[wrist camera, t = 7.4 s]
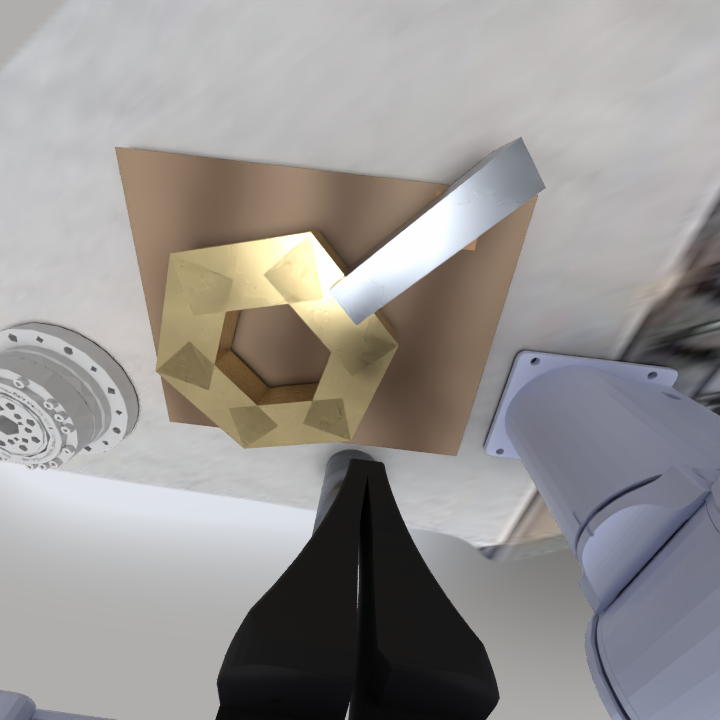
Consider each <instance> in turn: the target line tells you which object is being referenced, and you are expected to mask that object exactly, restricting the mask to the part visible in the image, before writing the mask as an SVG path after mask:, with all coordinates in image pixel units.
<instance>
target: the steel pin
mask: <svg viewBox="0 0 720 720" xmlns="http://www.w3.org/2000/svg"><path fill="white" fill-rule="evenodd" d="M352 458H355V459H362V460H369V461H375V460H374V459H373V458H372V457H371V456H369V455H368V454H366V453H364V452H361V451H357V450H345V451H341V452H338V453H336V454H335V455H333V456H332V457H331V458H330V459H329V461H328V463H327V467H326V472H325V476H324V481H323V486H322V491H321V496H320V500H319V505H318V510H317V515H316V520H315V525H314V529H313V534H314V533H315V531H316V530H317V528H318V527H319V525H320V524H321V522H322V521H323V519H324V517H325V516H326V514H327V512H328V510H329V509H330V507H331V505H332V503H333V502H334V500H335V498H336V496H337V494H338V491H339V489H340V487H341V485H342V483H343V481H344V478H345V476H346V473H347V470H348V466H349V461H350V460H351V459H352ZM313 534H312V536H313ZM358 565H359V551H358Z"/></svg>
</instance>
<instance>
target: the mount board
mask: <svg viewBox="0 0 720 720" xmlns="http://www.w3.org/2000/svg"><path fill="white" fill-rule="evenodd" d="M115 150H116V155H117V160H118V165H119V170H120V175H121V180H122V185H123V190H124V195H125V200H126V205H127V210H128V215H129V220H130V225H131V230H132V235H133V240H134V245H135V250H136V255H137V260H138V265H139V270H140V275H141V280H142V285H143V290H144V295H145V300H146V305H147V310H148V315H149V320H150V325H151V330H152V335H153V340H154V345H155V350H156V355H157V356H158V348H159V340H160V332H161V323H162V315H163V307H164V299H165V290H166V282H167V274H168V266H169V258H170V253H175V252H180V251H185V250H190V249H195V248H202V247H209V246H215V245H222V244H228V243H235V242H241V241H248V240H255V239H261V238H268V237H274V236H281V235H288V234H294V233H301V232H307V231H314V230H319V231H320V232H321V233H322V235H323V236H324V237H325V239H326V240H327V241H328V243H329V244H330V245H331V246H332V248H333V249H334V250H335V252H336V253H337V254H338V256H339V257H340V258H341V259H342V261H343V262H344V263H345V265H346V266H347V267H348V268H349V267H351V266H352V265H353V264H354V263H356V262H357V261H358V260H359V259H361V258H362V257H363V256H364V255H366V254H367V253H368V252H369V251H371V250H372V249H373V248H374V247H375V246H377V245H378V244H379V243H380V242H382V241H383V240H384V239H385V238H387V237H388V236H389V235H390V234H392V233H393V232H394V231H395V230H397V229H398V228H399V227H400V226H401V225H403V224H404V223H405V222H406V221H408V220H409V219H410V218H411V217H413V216H414V215H415V214H416V213H418V212H419V211H420V210H421V209H423V208H424V207H425V206H426V205H427V204H429V203H430V202H431V201H432V200H434V199H435V198H436V197H437V196H439V195H440V194H441V193H442V192H444V191H445V190H446V189H447V188H449V187H450V186H451V185H444V184H435V183H426V182H418V181H409V180H400V179H391V178H383V177H374V176H365V175H357V174H348V173H339V172H330V171H322V170H313V169H304V168H295V167H287V166H278V165H269V164H260V163H252V162H243V161H234V160H225V159H217V158H208V157H199V156H191V155H182V154H173V153H164V152H156V151H147V150H138V149H129V148H121V147H115ZM537 197H538V195H535V196H534V197H532V198H531V199H530V200H528V201H527V202H525V203H524V204H523V205H521V206H520V207H519V208H517V209H516V210H514V211H513V212H512V213H510V214H509V215H508V216H506V217H505V218H503V219H502V220H501V221H499V222H498V223H497V224H495V225H494V226H492V227H491V228H490V229H488V230H487V231H486V232H484V233H483V234H481V235H480V236H479V237H477V238H476V239H475V240H473V241H472V242H470V243H469V244H468V245H466V246H465V247H464V248H462V249H461V250H459V251H458V252H457V253H455V254H454V255H453V256H451V257H450V258H448V259H447V260H446V261H444V262H443V263H442V264H440V265H439V266H437V267H436V268H435V269H433V270H432V271H431V272H429V273H428V274H426V275H425V276H424V277H422V278H421V279H420V280H418V281H417V282H415V283H414V284H413V285H411V286H410V287H409V288H407V289H406V290H405V291H403V292H402V293H400V294H399V295H398V296H396V297H395V298H394V299H392V300H391V301H389V302H388V303H387V304H385V305H384V306H383V307H381V308H380V310H381V312H382V313H383V314H384V316H385V317H386V318H387V319H388V321H389V322H390V323H391V325H392V326H393V327H394V329H395V330H396V331H397V336H398V344H399V346H398V348H397V350H396V352H395V354H394V356H393V358H392V360H391V362H390V364H389V366H388V368H387V370H386V372H385V374H384V376H383V378H382V380H381V382H380V384H379V386H378V388H377V390H376V392H375V394H374V396H373V398H372V400H371V402H370V404H369V406H368V408H367V410H366V412H365V414H364V416H363V417H362V419H361V421H360V423H359V425H358V427H357V429H356V431H355V433H354V435H353V437H352V439H351V441H341V442H344V443H352V444H361V445H369V446H377V447H386V448H394V449H402V450H410V451H419V452H427V453H435V454H444V455H452V456H457V453H458V450H459V447H460V444H461V440H462V437H463V434H464V431H465V428H466V424H467V421H468V418H469V415H470V412H471V408H472V405H473V402H474V399H475V396H476V392H477V389H478V386H479V383H480V380H481V376H482V373H483V370H484V367H485V364H486V360H487V357H488V354H489V351H490V348H491V344H492V341H493V338H494V335H495V332H496V328H497V325H498V322H499V319H500V316H501V312H502V309H503V306H504V303H505V300H506V296H507V293H508V290H509V287H510V284H511V280H512V277H513V274H514V271H515V268H516V264H517V261H518V258H519V255H520V252H521V248H522V245H523V242H524V239H525V236H526V232H527V229H528V226H529V223H530V220H531V216H532V213H533V210H534V207H535V204H536V200H537ZM231 351H232V352H233V353H234V354H235V355H236V356H237V357H238V358H239V359H240V360H241V361H242V362H243V363H244V364H245V365H246V366H247V367H248V368H249V369H250V370H251V371H252V372H253V373H254V374H255V375H256V376H257V377H258V378H259V379H260V380H261V381H262V382H263V383H264V384H265V385H266V386H267V387H268V388H272V387H283V386H293V385H303V384H314V383H319V381H320V378H321V376H322V373H323V371H324V368H325V366H326V363H327V361H328V358H329V356H330V353H331V351H330V350H329V349H328V348H327V347H326V346H325V345H324V343H323V342H322V341H321V340H320V339H319V338H318V337H317V335H316V334H315V333H314V332H313V331H312V330H311V329H310V327H309V326H308V325H307V324H306V323H305V322H304V321H303V319H302V318H301V317H300V316H299V315H298V314H297V313H296V311H295V310H294V309H293V308H292V307H291V306H290V305H289V304H282V305H274V306H266V307H258V308H250V309H242V310H240V312H239V316H238V320H237V324H236V328H235V333H234V337H233V341H232V345H231ZM161 380H162V385H163V390H164V395H165V400H166V405H167V410H168V415H169V420H170V422H178V423H187V424H195V425H203V426H212V427H219V426H218V425H217V424H215V423H214V422H213V421H212V420H211V419H210V418H209V417H207V416H206V415H205V414H204V413H203V412H202V411H201V410H199V409H198V408H197V407H196V406H195V405H194V404H193V403H191V402H190V401H189V400H188V399H187V398H186V397H185V396H183V395H182V394H181V393H180V392H179V391H178V390H177V389H175V388H174V387H173V386H172V385H171V384H170V383H169V382H167V381H166V380H165V379H164V378H163V377H162V376H161Z"/></svg>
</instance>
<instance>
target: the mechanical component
mask: <svg viewBox="0 0 720 720" xmlns="http://www.w3.org/2000/svg"><path fill="white" fill-rule="evenodd" d="M137 416H138V403H137V397H136V394H135V391H134V388H133V386H132V384H131V383H130V381H129V379H128V378H127V376H126V375H125V373H124V371H123V370H122V368H121V367H120V366H119V365H118V364H117V363H116V362H115V361H114V360H113V359H112V358H111V357H110V356H109V355H108V354H107V353H106V352H105V351H103V350H102V349H101V348H99V347H98V346H97V345H95V344H94V343H93V342H91V341H89V340H88V339H86V338H84V337H82V336H80V335H79V334H77V333H75V332H72V331H69V330H66V329H64V328H61V327H58V326H52V325H46V324H40V323H30V324H25V325H20V326H15V327H12V328H9V329H7V330H4V331H1V332H0V461H5V460H7V459H9V460H12V461H15V462H18V463H22V464H25V466H26V468H28V469H30V470H33V469H35V468H36V467H39V468H40V469H42V470H47V469H48V468H49V467H51V466H52V467H55V468H57V467H59V466H60V465H61V464H62V463H65V462H67V461H69V460H70V459H71V458H72V457H73V456H75V455H76V454H97V453H100V452H103V451H106V450H109V449H111V448H112V447H114V446H115V445H116V444H117V443H118V442H120V441H121V440H122V439H123V438H124V437H125V436H127V435H128V434H129V433H130V432H131V431H132V429H133V427H134V425H135V423H136V421H137Z"/></svg>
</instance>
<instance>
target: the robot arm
mask: <svg viewBox="0 0 720 720" xmlns="http://www.w3.org/2000/svg"><path fill="white" fill-rule="evenodd" d="M533 358H537V359H536V361H535V362H533V363H531V360H532V359H533ZM651 372H652V373H651ZM649 373H651V374H650V375H649ZM648 375H649V376H648ZM677 377H678V372H677V371H676V370H674V369H672V368H669V367H661V366H653V365H644V364H636V363H627V362H619V361H610V360H602V359H593V358H585V357H576V356H568V355H559V354H551V353H543V352H534V351H522V352H520V353H519V354H518V355H517V357H516V359H515V362H514V364H513V367H512V370H511V373H510V376H509V379H508V381H507V384H506V387H505V390H504V393H503V395H502V398H501V401H500V404H499V407H498V409H497V412H496V415H495V418H494V421H493V423H492V426H491V429H490V432H489V435H488V437H487V440H486V443H485V446H484V450H485V452H486V454H487V455H490V456H496V457H505V458H513V459H521V461H522V462H523V464H524V466H525V468H526V469H527V471H528V473H529V475H530V476H531V478H532V480H533V482H534V484H535V485H536V487H537V489H538V491H539V492H540V494H541V496H542V498H543V499H544V501H545V503H546V505H547V507H548V508H549V510H550V512H551V514H552V515H553V517H554V519H555V521H556V522H557V524H558V526H559V528H560V530H561V531H562V533H563V535H564V537H565V538H566V540H567V542H568V544H569V545H570V547H571V549H572V551H573V552H574V554H575V556H576V558H577V560H578V561H579V563H580V565H581V568H582V570H583V576H582V579H581V580H580V582H579V585H580V587H581V589H582V591H583V593H584V595H585V596H586V598H587V600H588V602H589V604H590V606H591V608H592V610H593V611H594V614H593V616H592V617H591V619H590V621H589V622H588V625H587V629H586V633H585V650H586V656H587V662H588V665H589V669H590V672H591V676H592V679H593V681H594V684H595V686H596V688H597V691H598V693H599V696H600V698H601V700H602V702H603V704H604V706H605V708H606V710H607V712H608V714H609V716H610V718H611V719H612V720H720V416H719V415H717V414H716V413H714V412H712V411H711V410H709V409H707V408H706V407H704V406H703V405H701V404H699V403H698V402H696V401H694V400H693V399H691V398H689V397H688V396H686V395H684V394H683V393H681V392H679V391H678V390H676V389H674V388H673V387H672V386H673V384H674V382H675V381H676V379H677ZM498 449H501V450H499V451H497V450H498ZM358 551H359V594H358V608H357V585H358V584H357V583H358V582H357V581H358ZM217 687H218V694H219V700H220V707H219V710H218V713H217V716H216V719H215V720H345V717H346V713H347V709H348V706H349V702H350V709H349V719H348V720H486V719H487V717H488V716H489V715H490V713H491V712H492V711H493V709H494V708H495V707H496V705H497V703H498V700H499V691H498V687H497V682H496V679H495V676H494V672H493V669H492V666H491V663H490V660H489V658H488V655H487V652H486V650H485V647H484V645H483V643H482V642H481V641H480V640H479V638H478V637H477V636H476V635H475V633H474V632H473V631H472V630H471V628H470V627H469V626H468V624H467V623H466V622H465V621H464V619H463V618H462V617H461V616H460V614H459V613H458V611H457V610H456V608H455V607H454V606H453V604H452V603H451V602H450V600H449V599H448V598H447V596H446V595H445V593H444V591H443V590H442V588H441V587H440V585H439V584H438V582H437V581H436V579H435V578H434V576H433V575H432V573H431V572H430V570H429V569H428V567H427V565H426V563H425V561H424V560H423V558H422V556H421V555H420V553H419V551H418V549H417V548H416V545H415V544H414V542H413V540H412V538H411V536H410V534H409V532H408V530H407V527H406V525H405V523H404V521H403V519H402V516H401V514H400V512H399V509H398V507H397V504H396V502H395V499H394V496H393V494H392V491H391V488H390V485H389V482H388V478H387V475H386V471H385V466H384V464H383V463H382V462H376V461H369V460H362V459H355V458H352V459H351V460H350V461H349V466H348V470H347V473H346V476H345V478H344V481H343V483H342V485H341V487H340V489H339V491H338V494H337V496H336V498H335V500H334V502H333V503H332V505H331V507H330V509H329V510H328V512H327V514H326V516H325V517H324V519H323V521H322V522H321V524H320V525H319V527H318V528H317V530H316V531H315V533H314V534H313V536H312V537H311V539H310V540H309V542H308V543H307V544H306V546H305V547H304V548H303V550H302V551H301V553H300V554H299V555H298V557H297V558H296V559H295V560H294V561H293V563H292V564H291V565H290V566H289V567H288V569H287V570H286V571H285V572H284V573H283V574H282V576H281V577H280V578H279V579H278V581H277V582H276V583H275V584H274V585H273V586H272V587H271V588H270V589H269V590H268V591H267V592H266V593H265V594H264V595H263V597H262V598H261V599H260V600H259V601H258V602H257V603H256V604H255V605H254V606H253V607H252V608H251V609H250V611H249V612H248V614H247V615H246V617H245V619H244V620H243V622H242V624H241V625H240V627H239V629H238V631H237V633H236V634H235V636H234V638H233V640H232V642H231V644H230V646H229V648H228V650H227V653H226V655H225V658H224V661H223V664H222V667H221V669H220V672H219V675H218V679H217ZM0 720H114V719H107V718H100V717H92V716H85V715H78V714H71V713H64V712H57V711H49V710H42V709H36V706H35V703H34V702H33V700H32V699H31V698H29V697H28V696H25V695H23V694H20V693H16V692H10V691H3V690H0Z"/></svg>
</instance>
